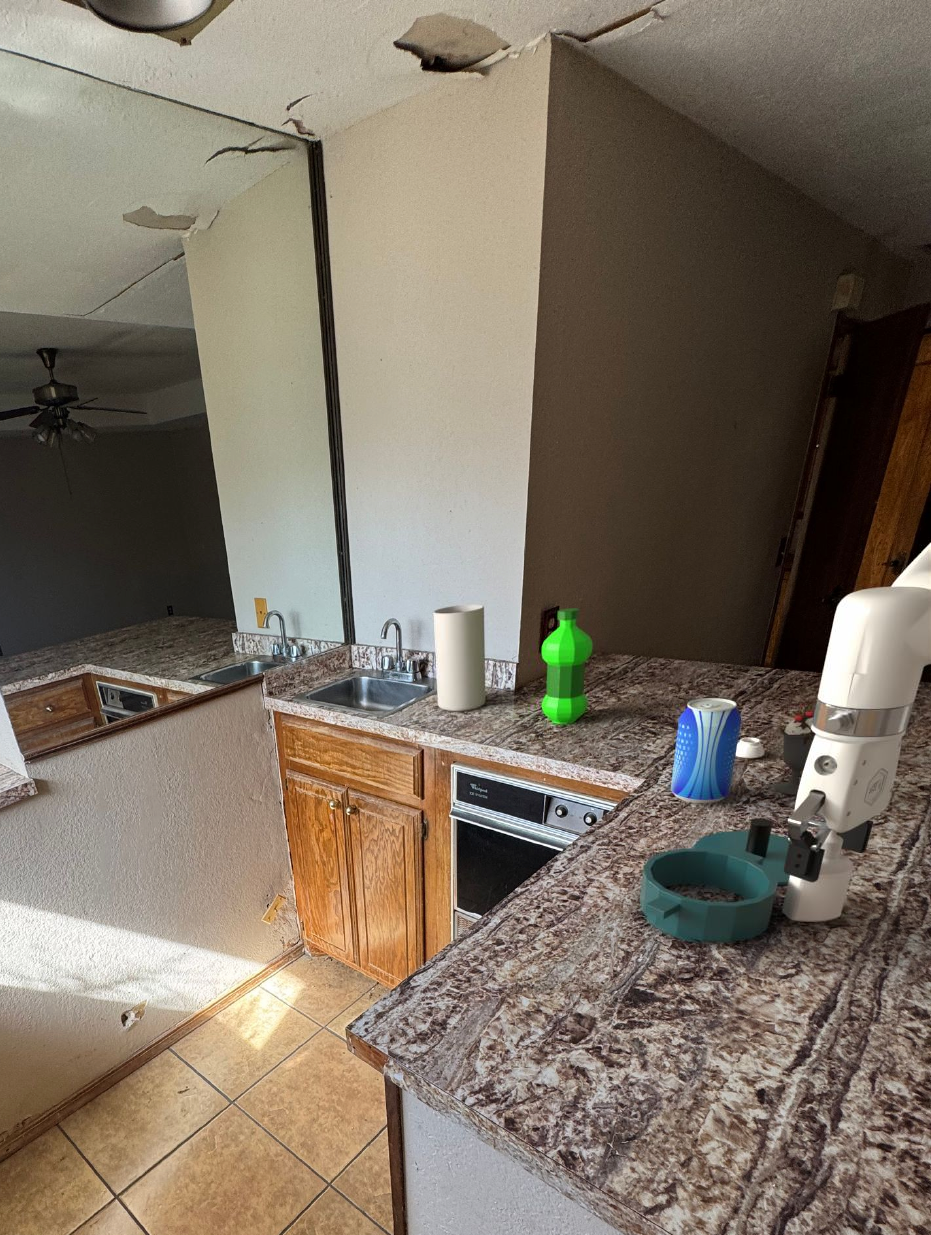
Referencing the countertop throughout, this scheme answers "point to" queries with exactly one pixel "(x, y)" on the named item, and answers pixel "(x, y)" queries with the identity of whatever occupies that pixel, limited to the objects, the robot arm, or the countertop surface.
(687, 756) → the beer can
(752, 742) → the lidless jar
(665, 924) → the pot
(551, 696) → the plastic bottle
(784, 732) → the sundae
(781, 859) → the lid
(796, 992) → the countertop surface
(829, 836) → the eye dropper bottle
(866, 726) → the robot arm
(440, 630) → the cylinder vase
